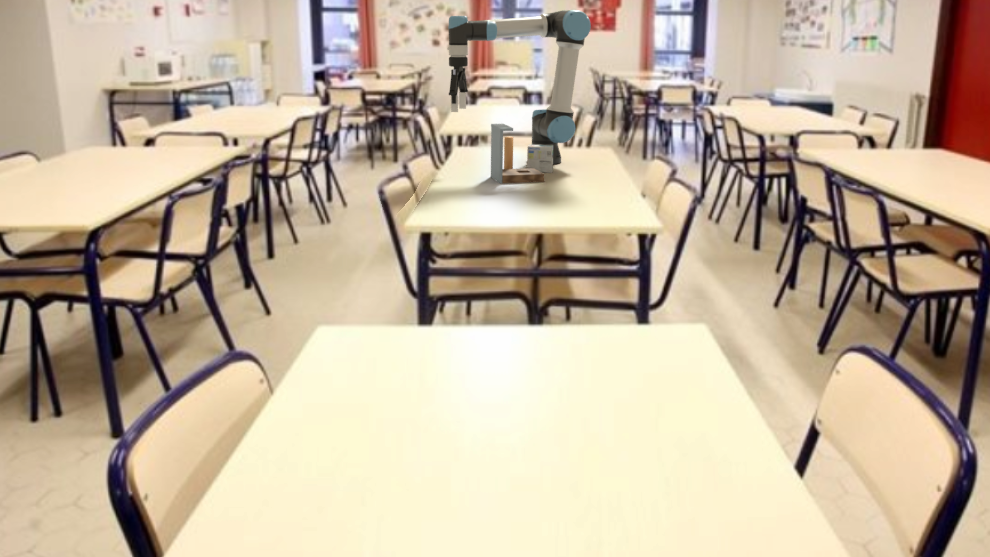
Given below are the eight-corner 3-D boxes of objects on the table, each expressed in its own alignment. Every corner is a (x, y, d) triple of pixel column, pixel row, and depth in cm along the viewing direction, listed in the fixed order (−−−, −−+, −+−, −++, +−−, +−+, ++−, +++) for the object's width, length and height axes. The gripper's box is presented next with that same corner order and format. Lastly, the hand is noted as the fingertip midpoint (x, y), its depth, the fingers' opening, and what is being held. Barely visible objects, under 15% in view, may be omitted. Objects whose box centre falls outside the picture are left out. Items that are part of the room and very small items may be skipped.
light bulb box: (552, 170, 351) (553, 144, 348) (552, 173, 344) (553, 146, 341) (527, 169, 352) (528, 143, 349) (526, 172, 345) (527, 146, 342)
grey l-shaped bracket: (502, 176, 335) (503, 123, 329) (512, 183, 321) (513, 128, 315) (490, 176, 334) (491, 123, 328) (499, 183, 320) (500, 128, 314)
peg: (511, 173, 342) (512, 136, 338) (513, 174, 339) (514, 137, 334) (502, 173, 341) (503, 136, 337) (505, 175, 338) (505, 137, 333)
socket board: (534, 175, 338) (534, 168, 337) (544, 181, 325) (544, 174, 324) (493, 176, 334) (493, 169, 333) (502, 183, 321) (502, 175, 320)
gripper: (456, 54, 345) (457, 107, 351) (441, 57, 321) (441, 113, 327) (474, 55, 343) (474, 107, 349) (459, 57, 320) (460, 113, 326)
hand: (458, 110), depth 338 cm, fingers open, 13 cm apart
